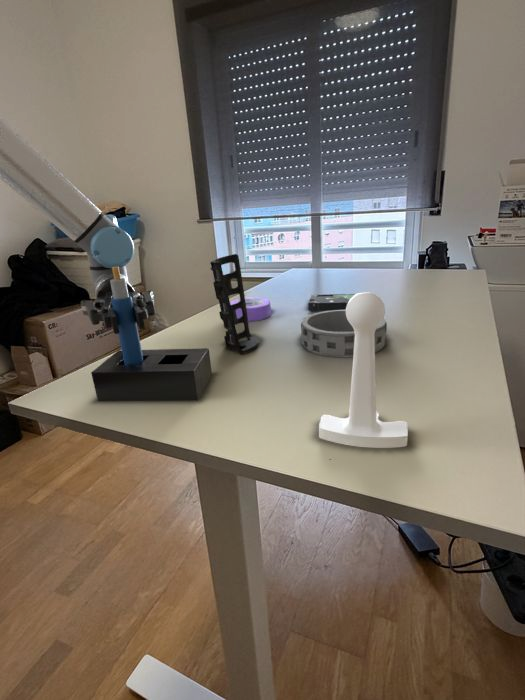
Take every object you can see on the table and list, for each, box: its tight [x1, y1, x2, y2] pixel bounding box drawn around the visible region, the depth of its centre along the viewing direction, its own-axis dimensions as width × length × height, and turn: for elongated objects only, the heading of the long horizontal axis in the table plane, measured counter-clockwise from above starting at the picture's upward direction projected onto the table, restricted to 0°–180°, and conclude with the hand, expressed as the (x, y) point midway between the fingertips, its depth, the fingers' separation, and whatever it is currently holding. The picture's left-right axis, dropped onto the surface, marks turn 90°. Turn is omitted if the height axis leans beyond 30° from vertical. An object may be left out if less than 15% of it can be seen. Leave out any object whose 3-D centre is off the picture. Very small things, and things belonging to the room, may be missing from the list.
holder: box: [209, 253, 261, 355], centre depth 88 cm, size 11×8×20 cm
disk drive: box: [307, 293, 357, 312], centre depth 117 cm, size 10×3×15 cm
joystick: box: [318, 291, 409, 449], centre depth 51 cm, size 11×8×20 cm
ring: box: [300, 310, 388, 358], centre depth 88 cm, size 18×18×5 cm
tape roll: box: [230, 297, 272, 322], centre depth 114 cm, size 12×12×4 cm
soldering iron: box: [110, 267, 143, 365], centre depth 68 cm, size 3×3×18 cm
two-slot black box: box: [90, 347, 213, 402], centre depth 71 cm, size 10×17×6 cm, turn 84°
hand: (128, 323), depth 63 cm, fingers closed on soldering iron, 3 cm apart
